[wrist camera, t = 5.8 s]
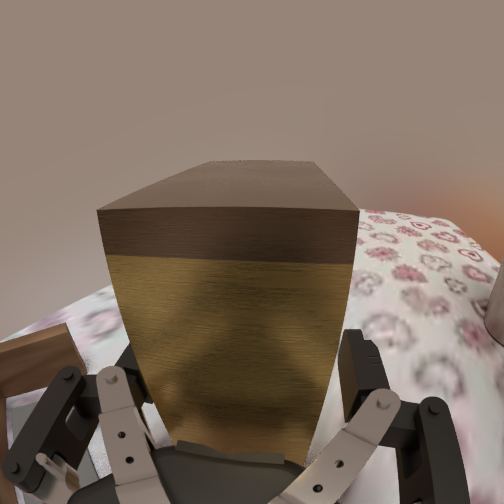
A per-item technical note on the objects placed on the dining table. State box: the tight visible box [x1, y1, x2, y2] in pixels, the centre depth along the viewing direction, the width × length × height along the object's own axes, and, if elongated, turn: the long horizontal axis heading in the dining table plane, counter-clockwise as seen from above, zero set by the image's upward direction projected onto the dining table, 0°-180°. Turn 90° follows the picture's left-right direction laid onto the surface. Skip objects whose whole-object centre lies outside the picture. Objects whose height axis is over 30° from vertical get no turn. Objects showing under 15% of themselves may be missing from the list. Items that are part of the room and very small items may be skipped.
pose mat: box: [11, 402, 99, 504], centre depth 12 cm, size 11×7×1 cm, turn 37°
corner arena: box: [0, 323, 87, 504], centre depth 12 cm, size 16×12×5 cm
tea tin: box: [97, 160, 360, 466], centre depth 12 cm, size 9×5×17 cm, turn 173°
